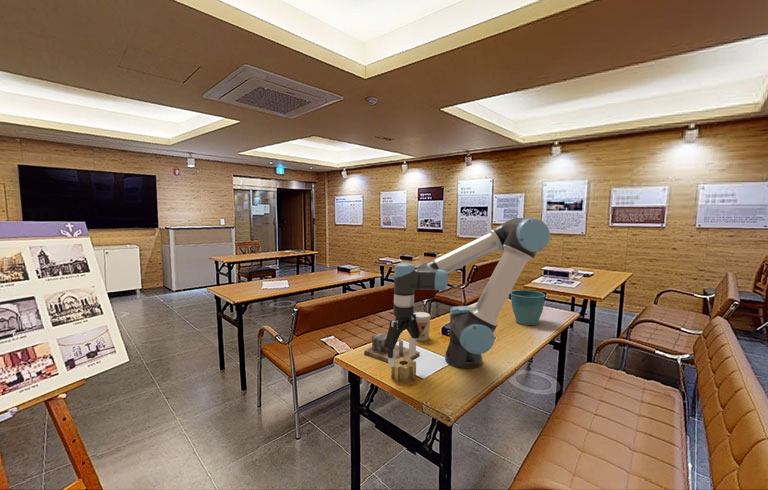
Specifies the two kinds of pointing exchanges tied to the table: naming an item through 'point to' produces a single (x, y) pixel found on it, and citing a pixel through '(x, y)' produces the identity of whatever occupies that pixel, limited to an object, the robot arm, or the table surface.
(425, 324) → the coffee cup
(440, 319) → the table surface
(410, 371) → the brass gear
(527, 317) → the flower pot
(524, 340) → the table surface
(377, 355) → the gear board
